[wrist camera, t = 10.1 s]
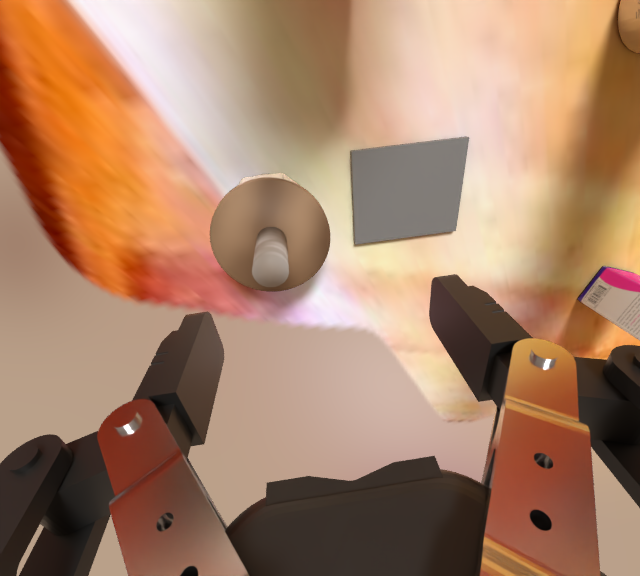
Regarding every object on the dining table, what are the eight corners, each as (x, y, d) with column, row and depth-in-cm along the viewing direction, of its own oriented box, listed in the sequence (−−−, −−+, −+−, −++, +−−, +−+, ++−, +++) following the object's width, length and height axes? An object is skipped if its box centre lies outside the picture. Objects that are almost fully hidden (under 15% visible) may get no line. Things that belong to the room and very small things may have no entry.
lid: (323, 169, 27) (336, 190, 22) (332, 278, 33) (345, 318, 27) (196, 185, 27) (173, 211, 21) (228, 293, 33) (217, 337, 27)
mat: (466, 136, 32) (469, 137, 32) (453, 228, 37) (455, 230, 37) (350, 150, 32) (351, 151, 31) (354, 242, 37) (355, 244, 36)
